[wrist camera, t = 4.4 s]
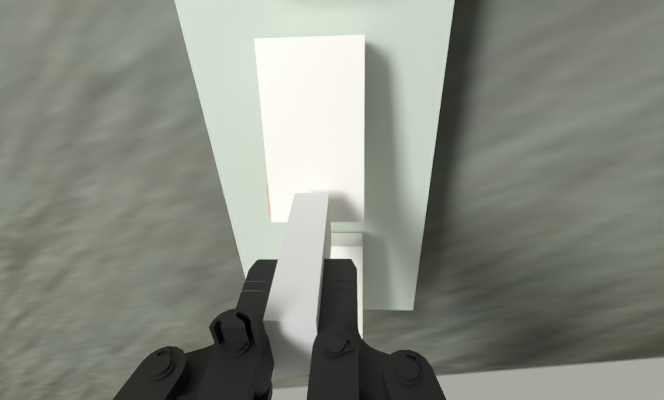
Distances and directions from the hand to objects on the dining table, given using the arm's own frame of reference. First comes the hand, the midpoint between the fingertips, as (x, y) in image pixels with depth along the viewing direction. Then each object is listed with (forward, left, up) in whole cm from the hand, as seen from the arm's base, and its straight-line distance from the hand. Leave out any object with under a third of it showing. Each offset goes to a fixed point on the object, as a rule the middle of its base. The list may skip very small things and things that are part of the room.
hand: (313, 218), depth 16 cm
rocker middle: (-3, 0, -2) cm, 4 cm away
